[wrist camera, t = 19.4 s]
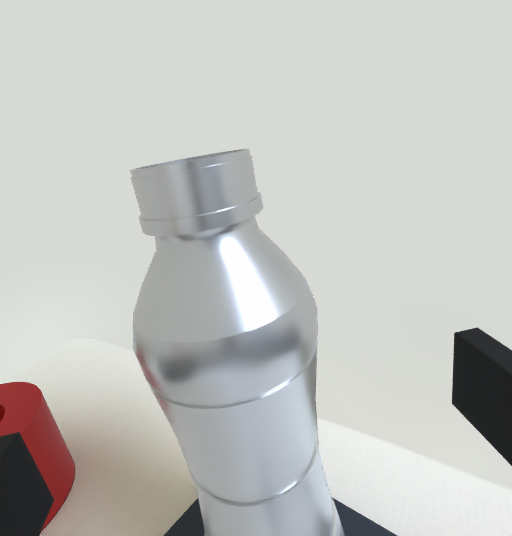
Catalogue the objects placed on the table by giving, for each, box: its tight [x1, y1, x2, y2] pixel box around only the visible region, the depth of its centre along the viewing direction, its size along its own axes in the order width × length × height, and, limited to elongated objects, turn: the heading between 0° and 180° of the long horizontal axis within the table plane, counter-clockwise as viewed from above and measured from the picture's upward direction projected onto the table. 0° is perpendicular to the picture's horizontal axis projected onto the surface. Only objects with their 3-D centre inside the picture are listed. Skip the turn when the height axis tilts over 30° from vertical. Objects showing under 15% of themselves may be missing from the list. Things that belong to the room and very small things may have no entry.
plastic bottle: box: [130, 149, 345, 536], centre depth 14 cm, size 6×7×20 cm
